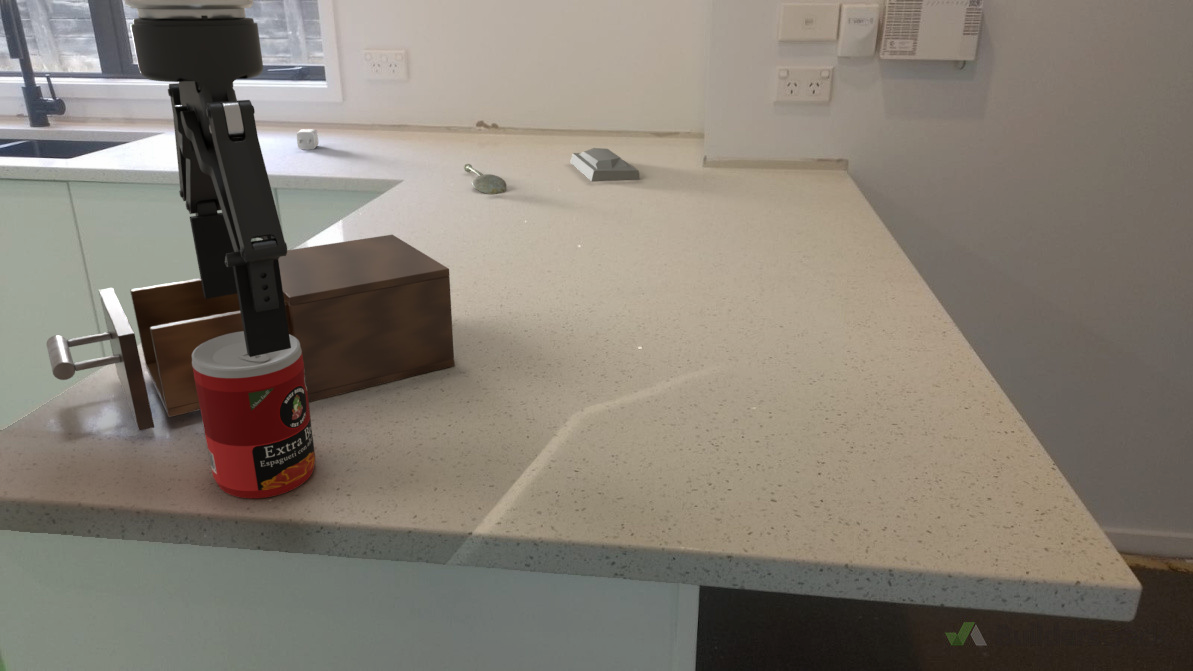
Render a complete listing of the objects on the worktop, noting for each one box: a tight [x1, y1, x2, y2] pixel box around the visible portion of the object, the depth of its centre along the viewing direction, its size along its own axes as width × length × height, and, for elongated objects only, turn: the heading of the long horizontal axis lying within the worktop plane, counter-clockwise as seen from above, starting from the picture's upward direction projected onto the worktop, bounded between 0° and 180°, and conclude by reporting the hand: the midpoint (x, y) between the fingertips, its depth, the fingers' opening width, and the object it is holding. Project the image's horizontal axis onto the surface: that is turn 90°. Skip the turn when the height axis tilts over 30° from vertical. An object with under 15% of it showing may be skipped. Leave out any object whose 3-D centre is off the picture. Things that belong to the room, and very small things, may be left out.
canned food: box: [192, 331, 316, 499], centre depth 65 cm, size 8×8×11 cm
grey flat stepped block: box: [569, 147, 640, 182], centre depth 180 cm, size 10×20×4 cm, turn 14°
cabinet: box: [278, 234, 455, 403], centre depth 86 cm, size 16×15×11 cm
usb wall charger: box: [295, 128, 319, 150], centre depth 199 cm, size 4×7×4 cm, turn 7°
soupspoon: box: [463, 163, 507, 195], centre depth 168 cm, size 22×3×7 cm
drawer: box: [46, 277, 292, 432], centre depth 77 cm, size 20×13×9 cm
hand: (244, 320), depth 62 cm, fingers open, 13 cm apart
